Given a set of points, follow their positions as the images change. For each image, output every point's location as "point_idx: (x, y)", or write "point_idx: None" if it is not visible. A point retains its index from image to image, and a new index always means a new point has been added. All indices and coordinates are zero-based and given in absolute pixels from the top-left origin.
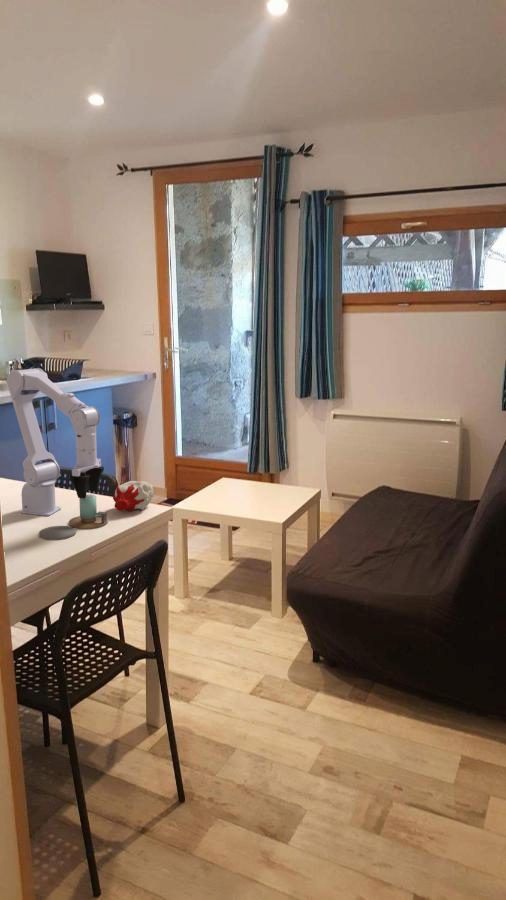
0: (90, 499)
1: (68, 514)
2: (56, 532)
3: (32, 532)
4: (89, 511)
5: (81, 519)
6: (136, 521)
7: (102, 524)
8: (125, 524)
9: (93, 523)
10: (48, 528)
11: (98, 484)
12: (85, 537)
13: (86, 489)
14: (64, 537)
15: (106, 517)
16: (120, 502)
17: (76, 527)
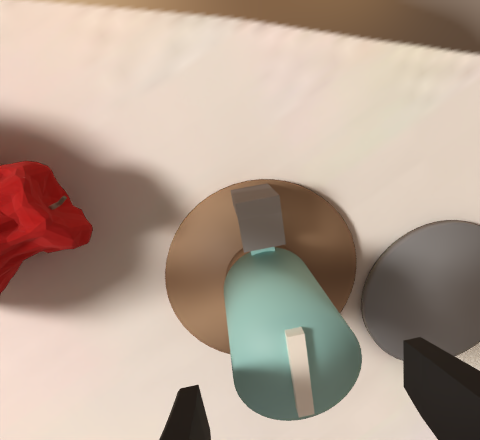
0: (339, 318)
1: None
2: (452, 294)
3: None
4: (314, 278)
5: None
6: (111, 48)
7: (281, 182)
8: (193, 82)
9: (287, 232)
10: None
11: (165, 436)
12: (446, 159)
13: (471, 387)
14: None
15: (237, 194)
16: (51, 214)
17: (352, 272)
